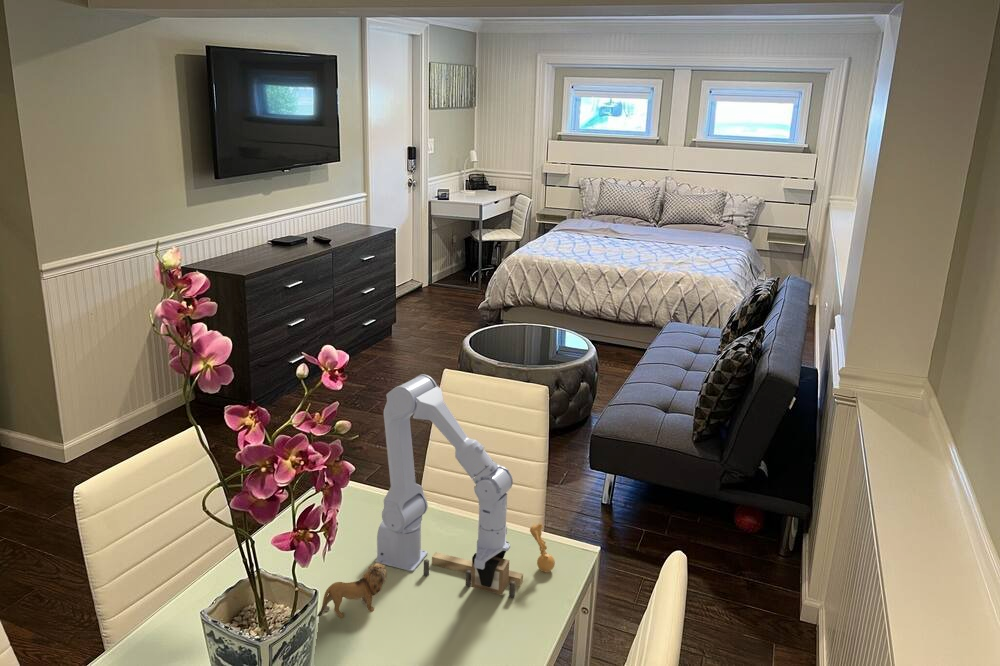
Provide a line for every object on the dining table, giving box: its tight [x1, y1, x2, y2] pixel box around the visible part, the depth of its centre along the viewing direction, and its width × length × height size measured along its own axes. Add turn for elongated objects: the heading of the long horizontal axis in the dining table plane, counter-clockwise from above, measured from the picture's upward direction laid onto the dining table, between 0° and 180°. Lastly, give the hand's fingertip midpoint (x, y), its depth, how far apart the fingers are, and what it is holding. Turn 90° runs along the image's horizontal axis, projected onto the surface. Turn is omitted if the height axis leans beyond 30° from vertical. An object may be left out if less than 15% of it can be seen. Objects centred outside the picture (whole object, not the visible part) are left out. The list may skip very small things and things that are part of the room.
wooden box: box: [470, 557, 510, 596], centre depth 166 cm, size 7×4×6 cm, turn 70°
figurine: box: [529, 523, 556, 573], centre depth 174 cm, size 8×6×12 cm
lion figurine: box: [316, 562, 388, 618], centre depth 159 cm, size 15×5×9 cm, turn 118°
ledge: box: [423, 551, 524, 599], centre depth 171 cm, size 21×7×4 cm, turn 70°
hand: (489, 579), depth 167 cm, fingers closed on wooden box, 4 cm apart
